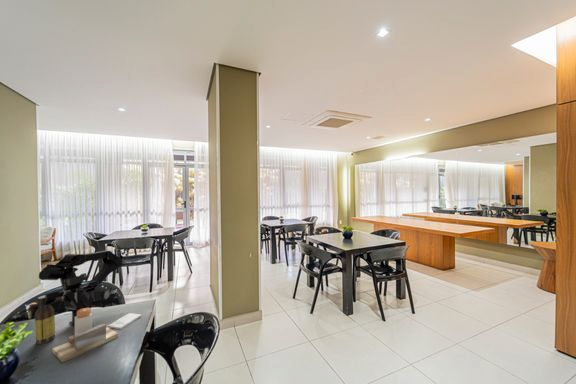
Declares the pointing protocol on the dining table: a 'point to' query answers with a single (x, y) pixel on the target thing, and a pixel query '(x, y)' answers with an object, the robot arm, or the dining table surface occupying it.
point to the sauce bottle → (44, 322)
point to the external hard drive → (124, 321)
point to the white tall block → (83, 320)
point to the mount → (84, 342)
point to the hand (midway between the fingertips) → (77, 307)
